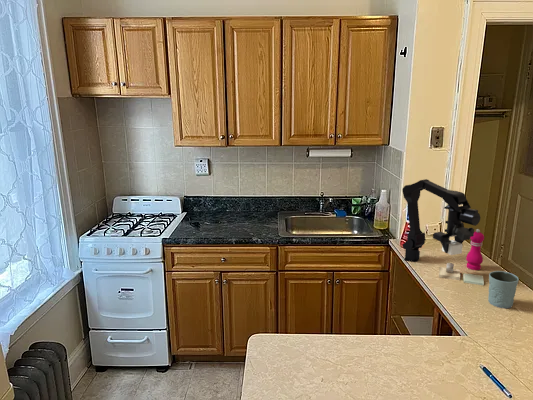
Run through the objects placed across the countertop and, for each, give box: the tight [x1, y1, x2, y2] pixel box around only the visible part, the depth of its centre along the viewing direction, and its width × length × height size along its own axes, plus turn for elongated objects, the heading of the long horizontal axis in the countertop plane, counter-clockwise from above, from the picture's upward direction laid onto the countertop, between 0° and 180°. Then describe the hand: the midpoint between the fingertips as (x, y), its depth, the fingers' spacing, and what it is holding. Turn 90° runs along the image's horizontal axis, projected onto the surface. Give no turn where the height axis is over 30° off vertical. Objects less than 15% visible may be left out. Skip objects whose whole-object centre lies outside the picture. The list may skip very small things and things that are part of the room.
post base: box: [438, 262, 461, 281], centre depth 184 cm, size 9×9×6 cm
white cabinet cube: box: [441, 239, 463, 256], centre depth 182 cm, size 6×6×5 cm
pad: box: [462, 273, 485, 286], centre depth 179 cm, size 8×8×1 cm
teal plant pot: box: [487, 270, 520, 309], centre depth 157 cm, size 10×10×12 cm
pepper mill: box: [465, 228, 485, 271], centre depth 190 cm, size 7×7×20 cm
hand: (451, 251), depth 182 cm, fingers closed on white cabinet cube, 6 cm apart
